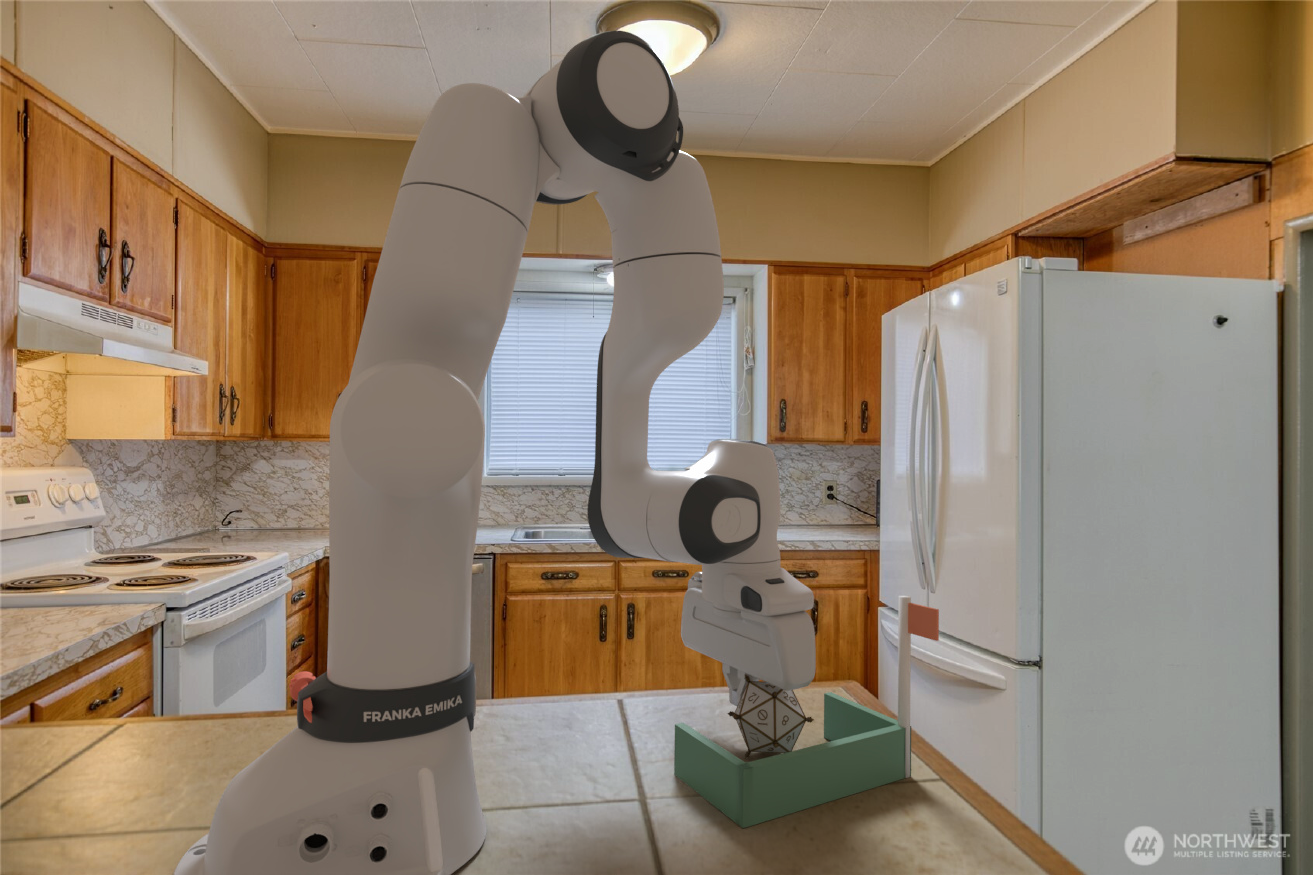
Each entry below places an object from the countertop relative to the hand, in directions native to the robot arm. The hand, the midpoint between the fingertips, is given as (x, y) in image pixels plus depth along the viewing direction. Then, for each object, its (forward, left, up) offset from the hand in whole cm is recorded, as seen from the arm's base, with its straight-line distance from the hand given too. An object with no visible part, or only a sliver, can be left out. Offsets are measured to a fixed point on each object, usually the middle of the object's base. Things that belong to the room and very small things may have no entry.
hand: (741, 705), depth 79 cm
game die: (0, -4, -4) cm, 6 cm away
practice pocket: (0, -11, -4) cm, 12 cm away
